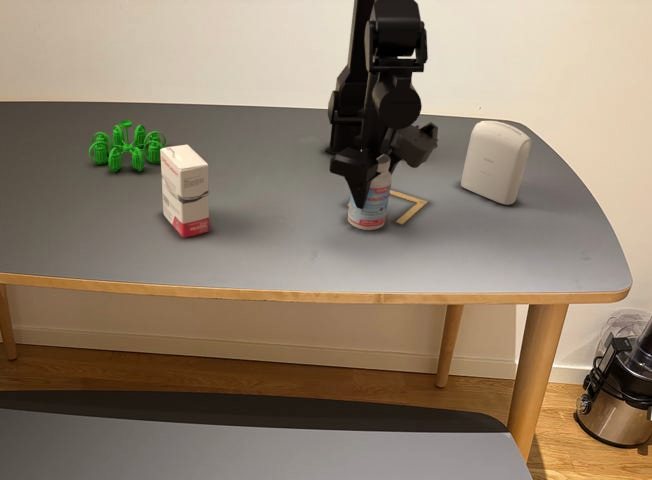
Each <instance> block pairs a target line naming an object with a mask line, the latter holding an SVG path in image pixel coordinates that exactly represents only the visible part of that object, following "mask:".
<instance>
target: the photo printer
mask: <svg viewBox="0 0 652 480" xmlns="http://www.w3.org/2000/svg"><path fill="white" fill-rule="evenodd" d="M531 148H532V139H531V138H530V137H529V136H528V135H527V134H526V133H525V132H523V131H522V130H520V129H518V128H517V127H516V126H513V125H511V124H507V123H505V122H502V121H496V120H481V121H480V122H477V123H476V124H475V125H474V127H473V129H472V131H471V134H470V138H469V142H468V147H467V152H466V156H465V160H464V165H463V170H462V173H461V174H462V175H461V180H460V186H461V188H463V189H465V190H467V191H470V192H472V193H474V194H477V195H478V196H481V197H484V198H486V199H488V200H491V201H494V202H496V203H499V204H501V205H506V206H509V205H512V204H514V203H516V200H517V198H518V196H519V192H520V188H521V184H522V180H523V176H524V173H525V169H526V166H527V162H528V159H529V156H530V155H529V154H530V151H531Z"/></svg>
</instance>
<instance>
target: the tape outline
mask: <svg viewBox="0 0 652 480" xmlns="http://www.w3.org/2000/svg"><path fill="white" fill-rule="evenodd" d="M389 195H391V196H395V197H398V198H400V199H404V200H405V201H406V200H407V201H410V202H412V203H415V205H414V206H412V207H411V208H410V209H409V210H407V211H406V212H405V213H404V214H403V215H402V216H401V217H399V218H398V219H397V220H396V221H395V223H396V224H399V225H401V226H402V225H404V224H405V223H407V221H408V220H410V219H411V218H412V217H413V216H414V215H415V214H416V213H418V212H419V211H420V210H421V209H422V208H423V207H425V206H426V205H427V204H428V203H429V201H427V200H424V199H421V198H418V197H415V196H411V195H408V194H405V193H402V192H400V191H396V190H392V189H390V194H389ZM346 206H347V207H349V203H348V204H346Z"/></svg>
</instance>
